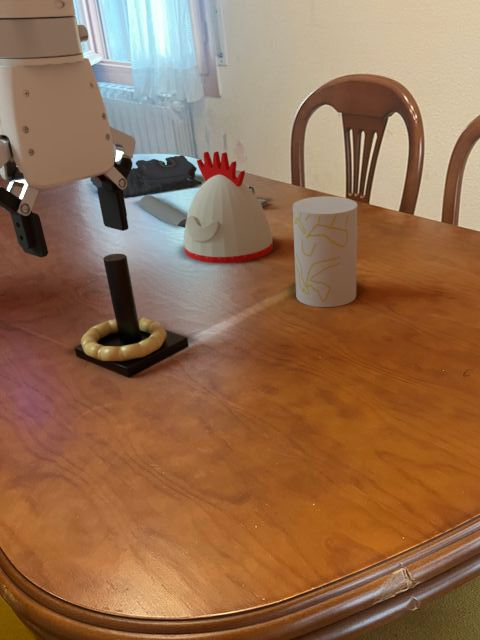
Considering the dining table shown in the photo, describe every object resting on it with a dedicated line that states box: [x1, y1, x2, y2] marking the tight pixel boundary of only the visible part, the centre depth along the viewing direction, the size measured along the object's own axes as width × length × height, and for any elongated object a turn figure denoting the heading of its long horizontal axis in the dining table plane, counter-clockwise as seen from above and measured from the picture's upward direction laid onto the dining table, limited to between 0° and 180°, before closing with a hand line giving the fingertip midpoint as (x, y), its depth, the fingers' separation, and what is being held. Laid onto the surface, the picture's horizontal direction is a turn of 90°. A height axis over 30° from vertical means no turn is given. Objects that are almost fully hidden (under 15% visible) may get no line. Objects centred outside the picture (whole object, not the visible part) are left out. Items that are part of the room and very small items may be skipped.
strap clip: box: [246, 185, 268, 207], centre depth 124 cm, size 8×3×4 cm, turn 149°
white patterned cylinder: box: [292, 195, 358, 308], centre depth 86 cm, size 8×8×12 cm
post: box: [73, 253, 189, 378], centre depth 73 cm, size 9×9×11 cm
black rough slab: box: [90, 154, 202, 198], centre depth 141 cm, size 15×22×5 cm
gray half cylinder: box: [138, 194, 187, 228], centre depth 122 cm, size 4×20×2 cm, turn 33°
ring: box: [80, 316, 167, 361], centre depth 74 cm, size 9×9×2 cm
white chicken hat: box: [183, 151, 274, 264], centre depth 100 cm, size 14×14×15 cm
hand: (78, 240), depth 66 cm, fingers open, 9 cm apart
